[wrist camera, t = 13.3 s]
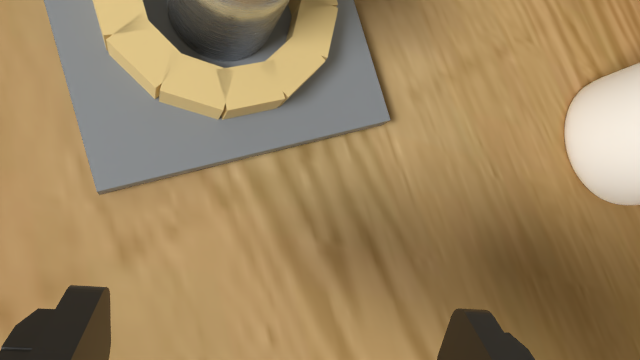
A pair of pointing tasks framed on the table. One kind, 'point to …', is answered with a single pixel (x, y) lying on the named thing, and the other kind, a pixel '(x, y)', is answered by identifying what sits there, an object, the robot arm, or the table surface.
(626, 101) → the mug
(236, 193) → the table surface
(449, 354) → the robot arm
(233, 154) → the ring block
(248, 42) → the piston
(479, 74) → the table surface
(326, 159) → the table surface
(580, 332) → the table surface
